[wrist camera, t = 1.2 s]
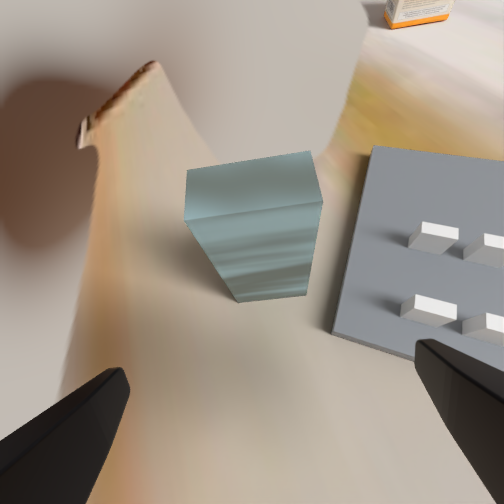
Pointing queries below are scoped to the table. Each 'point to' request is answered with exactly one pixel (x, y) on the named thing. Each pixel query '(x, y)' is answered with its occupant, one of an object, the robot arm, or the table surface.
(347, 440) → the table surface
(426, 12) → the supplement box
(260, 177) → the tall streaky grey pillar
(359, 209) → the base plate
